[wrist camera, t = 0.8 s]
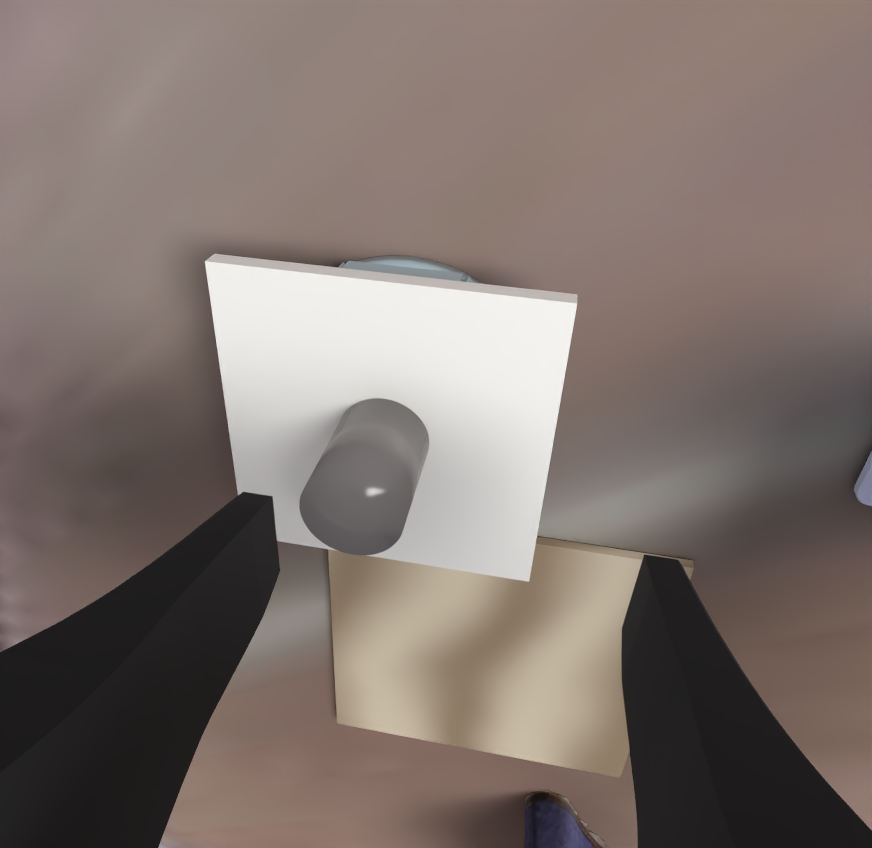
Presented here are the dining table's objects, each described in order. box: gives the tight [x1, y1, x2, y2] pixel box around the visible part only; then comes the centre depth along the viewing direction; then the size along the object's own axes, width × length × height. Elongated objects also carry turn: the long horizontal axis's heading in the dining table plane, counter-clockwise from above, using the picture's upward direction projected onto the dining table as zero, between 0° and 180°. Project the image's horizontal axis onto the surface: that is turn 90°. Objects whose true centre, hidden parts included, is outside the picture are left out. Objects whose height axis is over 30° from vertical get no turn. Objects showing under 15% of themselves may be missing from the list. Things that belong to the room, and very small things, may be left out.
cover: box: [205, 254, 577, 582], centre depth 20 cm, size 10×10×4 cm
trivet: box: [328, 537, 694, 778], centre depth 30 cm, size 14×14×1 cm
